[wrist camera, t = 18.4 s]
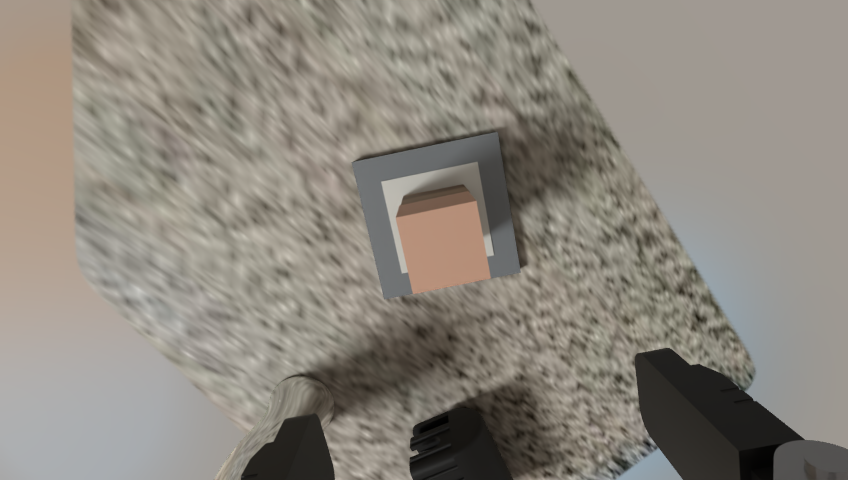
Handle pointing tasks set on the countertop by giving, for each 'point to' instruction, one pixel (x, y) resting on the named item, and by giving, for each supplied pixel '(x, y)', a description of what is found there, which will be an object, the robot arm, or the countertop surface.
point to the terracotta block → (442, 242)
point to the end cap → (456, 449)
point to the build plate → (433, 170)
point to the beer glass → (280, 419)
